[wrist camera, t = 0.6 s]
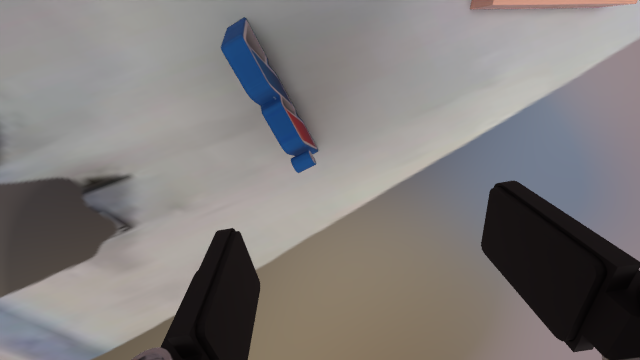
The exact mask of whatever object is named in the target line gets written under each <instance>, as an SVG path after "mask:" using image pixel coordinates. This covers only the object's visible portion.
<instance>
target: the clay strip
mask: <svg viewBox="0 0 640 360" xmlns="http://www.w3.org/2000/svg"><path fill="white" fill-rule="evenodd" d="M636 3H637V0H472V2H471V7H470V9H538V8H600V7H609V6H618V5H627V4H636Z"/></svg>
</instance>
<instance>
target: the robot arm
mask: <svg viewBox="0 0 640 360" xmlns="http://www.w3.org/2000/svg"><path fill="white" fill-rule="evenodd" d="M481 246H482V250H483V252H484V253H485V255H486V256H487V257H488V258H489V260H490V261H491V262H492V263H493V264H494V265H495V267H496V268H497V269H498V270H499V271H500V272H501V273H502V275H503V276H504V277H505V278H506V279H507V281H508V282H509V283H510V284H511V285H512V286H513V287H514V289H515V290H516V291H517V292H518V293H519V295H520V296H521V297H522V298H523V299H524V300H525V302H526V303H527V304H528V305H529V306H530V308H531V309H532V310H533V311H534V312H535V313H536V315H537V316H538V317H539V318H540V319H541V320H542V322H543V323H544V324H545V325H546V326H547V328H548V329H549V330H550V331H551V332H552V333H553V334H554V336H555V337H556V338H558V339H559V340H561V341H564V342H565V343H566V344H567V345H568V346H569V348H571V350H572V351H573V352H578V351H584V350H592V349H593V347H595V348H596V349H597V350H598V351H599V352H600V353H601V354H602V360H640V271H639V270H638V269H639V268H640V262H639V261H638V260H636V259H635V258H633V257H631V256H630V255H629V254H627V253H625V252H624V251H622V250H621V249H619V248H618V247H616V246H615V245H613V244H612V243H610V242H609V241H607V240H606V239H604V238H603V237H601V236H600V235H598V234H596V233H595V232H593V231H592V230H590V229H589V228H587V227H586V226H584V225H583V224H581V223H580V222H578V221H577V220H575V219H574V218H572V217H571V216H569V215H567V214H566V213H564V212H563V211H561V210H560V209H558V208H557V207H555V206H554V205H552V204H551V203H549V202H548V201H546V200H545V199H543V198H541V197H540V196H538V195H537V194H535V193H534V192H532V191H531V190H529V189H528V188H526V187H525V186H523V185H522V184H520V183H519V182H517V181H508V182H502V183H497V184H495V186H494V188H493V189H491V190H490V194H489V200H488V206H487V212H486V218H485V224H484V230H483V236H482V242H481ZM259 293H260V281H259V278H258V276H257V273H256V271H255V268H254V266H253V263H252V261H251V258H250V256H249V253H248V251H247V248H246V246H245V243H244V241H243V238H242V235H241V233H240V232H239V231H235V230H234V229H233V228H231V229H225V230H219V231H217V232H216V233H215V236H214V238H213V240H212V242H211V244H210V246H209V249H208V251H207V253H206V255H205V257H204V259H203V262H202V264H201V266H200V268H199V270H198V271H197V272H196V273H195V275H194V277H193V279H192V281H191V283H190V285H189V288H188V290H187V292H186V294H185V296H184V298H183V300H182V303H181V305H180V307H179V309H178V311H177V313H176V315H175V317H174V320H173V322H172V324H171V326H170V328H169V330H168V333H167V335H166V337H165V339H164V341H163V343H162V345H161V347H160V348H152V349H149V350H146V351H144V352H142V353H140V354H139V355H137V356H135V357H134V358H133V359H132V360H248V355H249V349H250V343H251V338H252V332H253V326H254V321H255V315H256V310H257V304H258V298H259Z"/></svg>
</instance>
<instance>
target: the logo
mask: <svg viewBox="0 0 640 360" xmlns="http://www.w3.org/2000/svg"><path fill="white" fill-rule="evenodd" d="M221 46H222V47H221V49H222V52H223V53H224V55H225V57H226V59H227V60H228V62H229V64H230V65H231V67H232V69H233V70H234V72H235V74H236V76H237V77H238V79H239V81H240V82H241V84H242V86H243V88H244V89H245V91H246V93H247V94H248V95H249V97H250V98H251V99H252V100H253V101H254V102H256V103H257V104H259V105H260V106H261V111H262V114H263V116H264V118H265V119H266V121H267V123H268V125H269V126H270V128H271V130H272V132H273V133H274V135H275V137H276V138H277V140H278V142H279V144H280V145H281V147H282V148H283V150H284V151H285V152H286V153H287V154H290V155H293V156H295V157H293V158H291V162H292V165H293V167H294V169H295V170H296V172H297V173H299V172H302V171H304V170H306V169H308V168H310V167H312V166H314V165H316V161H315V159H314V157H313V155H312V154H314V153H316V152H318V149H317V147H316V145H315V143H314V141H313V139H312V137H311V135H310V134H309V132H308V130H307V128H306V126H305V125H304V123H303V121H302V120H301V119H300V118H299V117H298V116H297V114H296V110H295V108H294V106H293V104H292V102H291V100H290V98H289V97H288V95H287V93H286V91H285V89H284V87H283V85H282V83H281V82H280V80H279V78H278V76H277V75H276V73H275V72H274V71H273V70H272V69H271V67H270V66H269V65H268V59H267V57H266V55H265V53H264V51H263V49H262V47H261V45H260V44H259V42H258V40H257V38H256V36H255V34H254V32H253V30H252V29H251V27H250V25H249V23H248V21H247V20H246V18H245V17H244V18H242V19H241V20H239V21H238V22H236V23H235V24H233V25H231V26H230V27H228V28H227V31H226V34H225V36H224V39H223V42H222V45H221Z"/></svg>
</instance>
